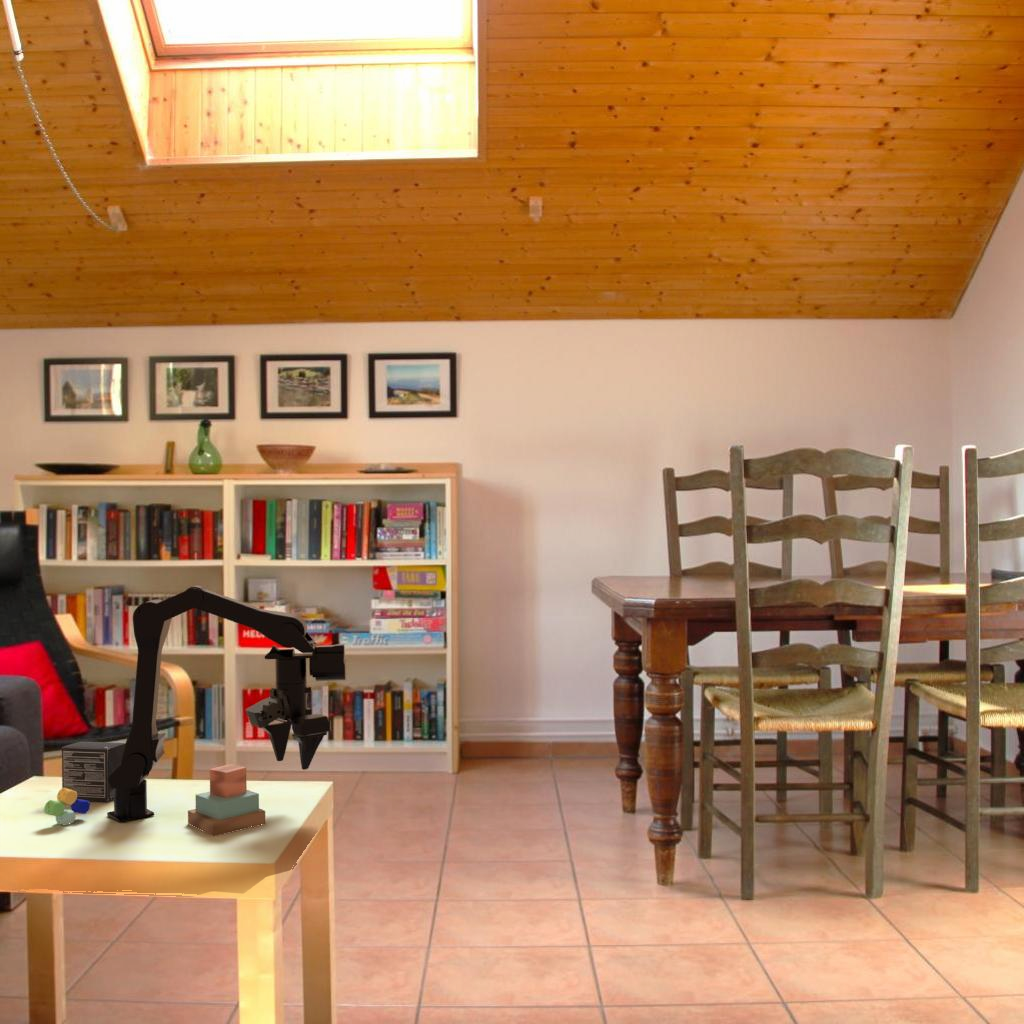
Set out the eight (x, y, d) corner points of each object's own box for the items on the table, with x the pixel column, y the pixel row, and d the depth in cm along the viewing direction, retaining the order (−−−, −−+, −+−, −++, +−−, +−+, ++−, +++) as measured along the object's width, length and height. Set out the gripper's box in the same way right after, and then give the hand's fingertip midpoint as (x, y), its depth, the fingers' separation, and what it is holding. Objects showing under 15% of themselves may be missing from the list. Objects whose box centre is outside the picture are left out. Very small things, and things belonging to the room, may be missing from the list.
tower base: (188, 827, 188) (187, 810, 188) (239, 816, 194) (239, 799, 194) (213, 839, 180) (213, 822, 180) (265, 827, 187) (265, 810, 187)
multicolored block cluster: (83, 816, 193) (82, 781, 193) (91, 818, 192) (91, 783, 192) (42, 827, 187) (42, 791, 187) (50, 829, 185) (50, 793, 185)
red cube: (210, 794, 187) (209, 769, 187) (229, 788, 191) (229, 764, 191) (226, 798, 185) (226, 772, 185) (246, 792, 188) (246, 767, 188)
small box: (128, 794, 208) (127, 741, 208) (108, 803, 202) (107, 748, 202) (81, 791, 211) (80, 739, 211) (60, 800, 204) (59, 746, 204)
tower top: (195, 811, 187) (195, 794, 187) (235, 802, 193) (235, 785, 193) (218, 820, 182) (218, 802, 182) (259, 810, 187) (258, 793, 187)
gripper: (228, 681, 198) (229, 763, 198) (277, 693, 184) (278, 782, 184) (280, 674, 205) (281, 754, 205) (332, 685, 191) (333, 770, 191)
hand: (292, 765), depth 196 cm, fingers open, 9 cm apart
